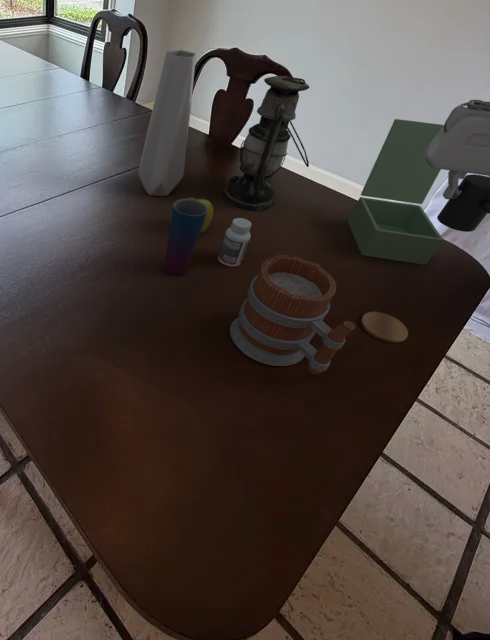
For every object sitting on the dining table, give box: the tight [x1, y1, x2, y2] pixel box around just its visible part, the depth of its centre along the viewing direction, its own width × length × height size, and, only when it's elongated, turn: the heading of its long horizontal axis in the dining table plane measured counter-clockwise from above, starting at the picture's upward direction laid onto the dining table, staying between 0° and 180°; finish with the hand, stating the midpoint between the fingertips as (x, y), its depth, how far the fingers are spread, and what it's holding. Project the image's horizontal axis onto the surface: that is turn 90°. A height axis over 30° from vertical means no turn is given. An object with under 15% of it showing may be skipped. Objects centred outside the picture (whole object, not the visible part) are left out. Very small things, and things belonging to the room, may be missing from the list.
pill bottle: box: [217, 217, 252, 268], centre depth 97 cm, size 5×5×10 cm
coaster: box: [360, 311, 409, 344], centre depth 87 cm, size 8×8×1 cm
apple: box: [187, 193, 214, 234], centre depth 106 cm, size 8×8×10 cm
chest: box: [346, 196, 445, 266], centre depth 108 cm, size 17×15×7 cm
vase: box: [137, 49, 197, 197], centre depth 111 cm, size 12×12×33 cm
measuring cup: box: [436, 173, 490, 233], centre depth 69 cm, size 8×6×7 cm
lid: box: [360, 118, 444, 205], centre depth 108 cm, size 18×15×5 cm
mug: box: [229, 254, 356, 376], centre depth 76 cm, size 14×19×15 cm
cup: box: [163, 198, 208, 277], centre depth 92 cm, size 7×7×15 cm
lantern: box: [220, 75, 310, 212], centre depth 112 cm, size 19×19×30 cm
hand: (472, 201), depth 70 cm, fingers closed on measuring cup, 5 cm apart
